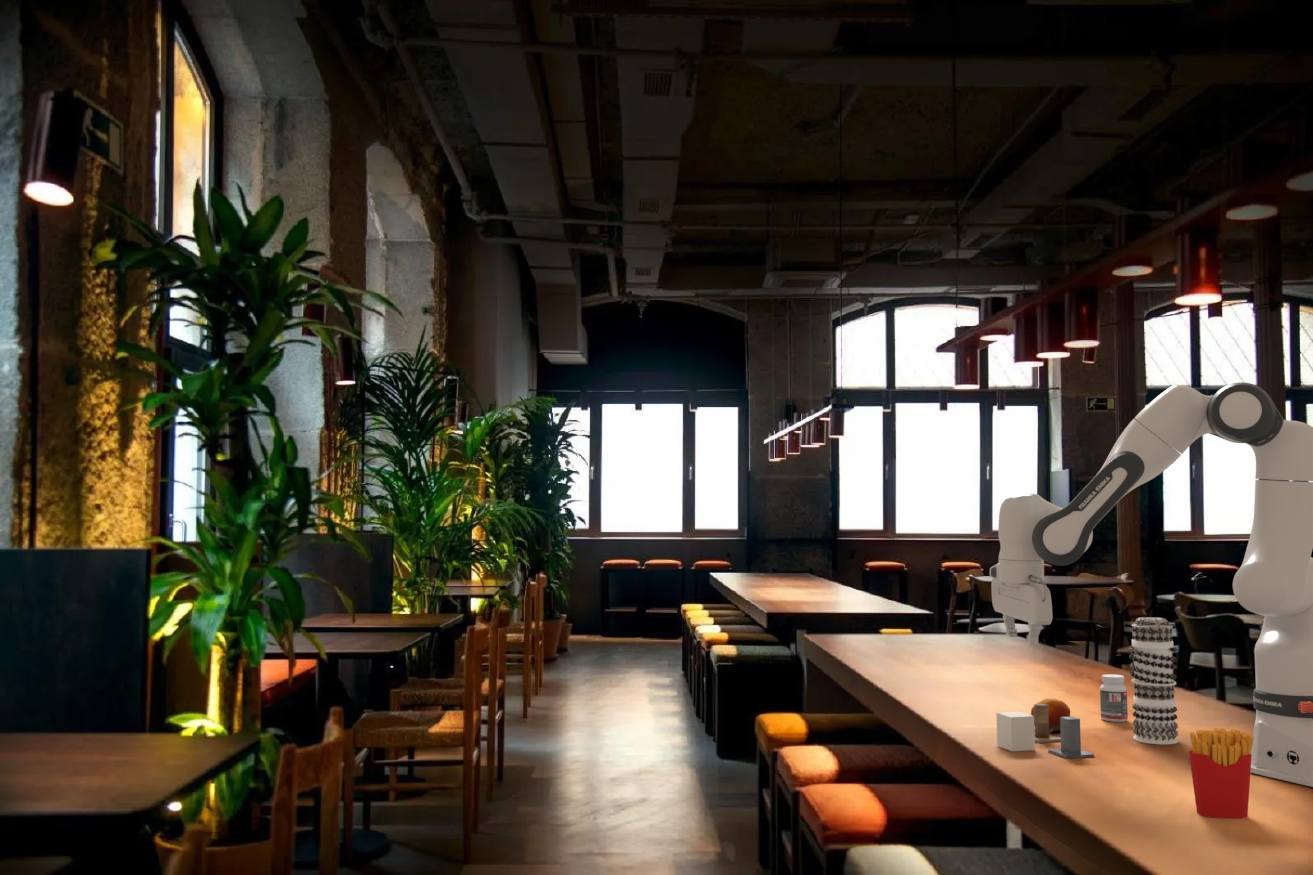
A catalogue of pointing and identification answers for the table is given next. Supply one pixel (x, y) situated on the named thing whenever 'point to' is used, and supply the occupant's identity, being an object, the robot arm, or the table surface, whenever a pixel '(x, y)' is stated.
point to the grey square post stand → (1070, 739)
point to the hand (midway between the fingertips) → (1021, 640)
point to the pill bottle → (1113, 699)
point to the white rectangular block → (1015, 731)
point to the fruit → (1054, 712)
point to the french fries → (1221, 772)
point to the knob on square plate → (1043, 724)
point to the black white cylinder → (1153, 681)
